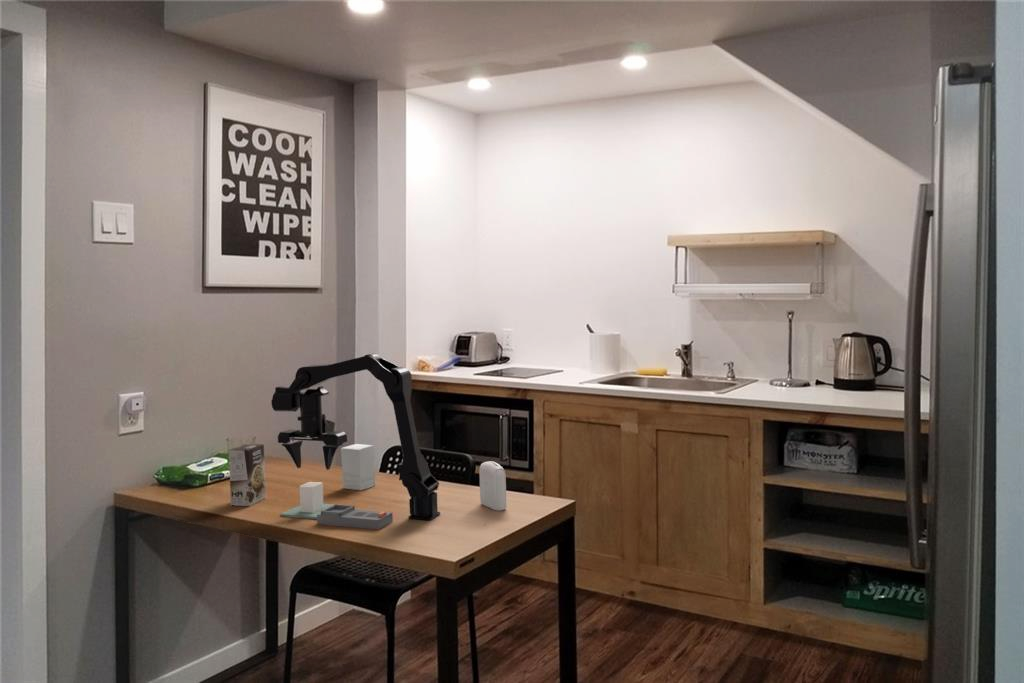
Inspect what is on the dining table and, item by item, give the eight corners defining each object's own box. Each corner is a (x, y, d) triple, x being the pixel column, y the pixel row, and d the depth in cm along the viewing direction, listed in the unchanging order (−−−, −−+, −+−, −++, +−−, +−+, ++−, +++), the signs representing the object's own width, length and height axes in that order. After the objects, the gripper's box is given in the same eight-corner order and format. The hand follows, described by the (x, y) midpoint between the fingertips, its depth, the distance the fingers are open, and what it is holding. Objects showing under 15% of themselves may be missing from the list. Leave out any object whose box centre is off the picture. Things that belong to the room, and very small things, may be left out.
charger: (323, 507, 221) (322, 482, 221) (313, 512, 216) (312, 486, 216) (311, 506, 222) (310, 481, 222) (300, 511, 218) (299, 485, 217)
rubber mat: (343, 507, 223) (343, 505, 223) (318, 519, 212) (318, 517, 212) (306, 504, 227) (306, 502, 227) (280, 516, 216) (280, 513, 216)
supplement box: (376, 485, 248) (375, 445, 247) (360, 491, 241) (358, 449, 241) (358, 483, 251) (356, 443, 251) (341, 488, 245) (340, 447, 244)
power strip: (392, 521, 208) (392, 508, 208) (378, 529, 202) (378, 516, 201) (332, 516, 214) (332, 503, 214) (317, 523, 208) (316, 510, 208)
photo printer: (478, 503, 224) (477, 459, 223) (492, 501, 226) (491, 457, 225) (494, 512, 215) (493, 466, 214) (508, 509, 217) (507, 464, 216)
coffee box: (251, 506, 226) (248, 450, 225) (230, 506, 228) (227, 449, 227) (267, 498, 235) (264, 443, 234) (247, 497, 237) (244, 443, 236)
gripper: (356, 408, 222) (358, 464, 223) (299, 406, 229) (301, 460, 230) (334, 414, 212) (337, 472, 213) (275, 412, 218) (277, 469, 219)
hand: (313, 468), depth 219 cm, fingers open, 9 cm apart
